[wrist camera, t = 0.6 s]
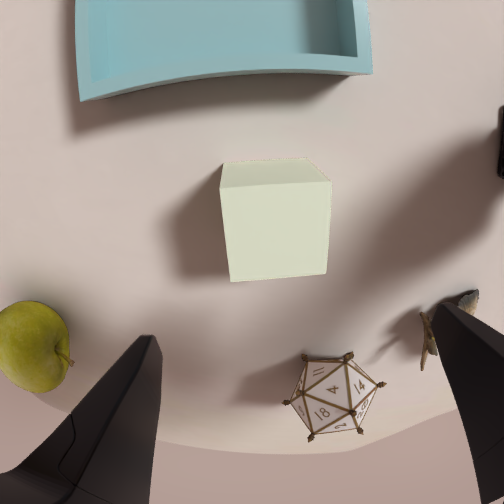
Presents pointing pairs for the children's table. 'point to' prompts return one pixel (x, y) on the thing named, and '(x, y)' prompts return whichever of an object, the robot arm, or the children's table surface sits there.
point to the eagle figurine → (429, 345)
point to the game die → (332, 395)
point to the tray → (214, 41)
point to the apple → (33, 346)
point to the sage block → (275, 218)
